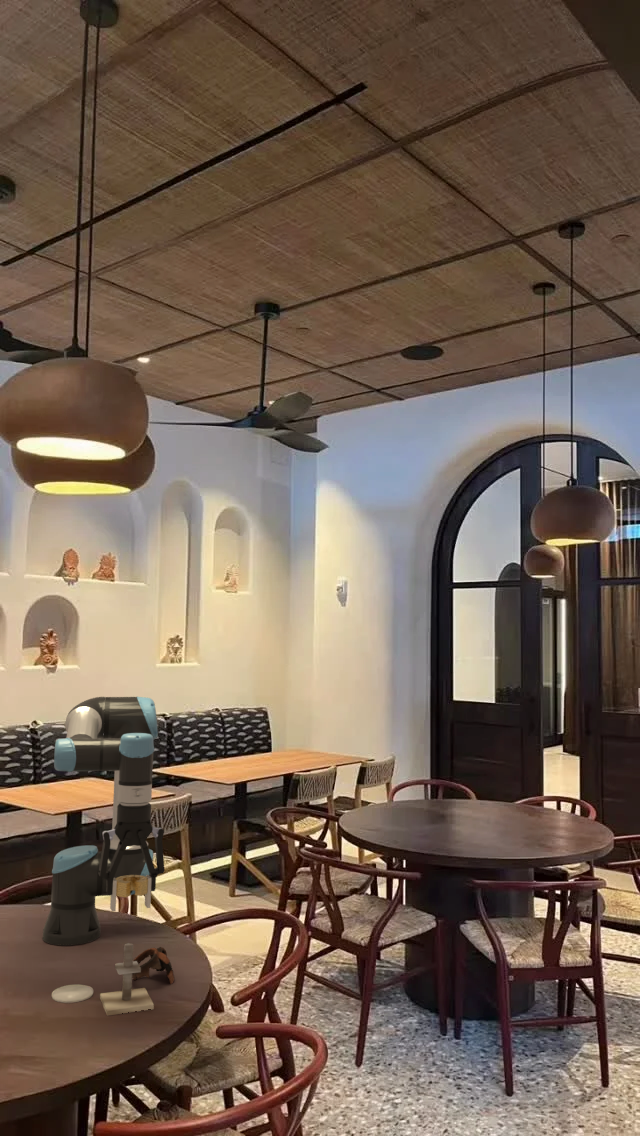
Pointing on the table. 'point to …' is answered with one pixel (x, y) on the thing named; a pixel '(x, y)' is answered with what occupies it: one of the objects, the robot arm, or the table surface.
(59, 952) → the table surface
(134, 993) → the peg stand
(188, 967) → the table surface
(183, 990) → the table surface
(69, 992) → the coaster
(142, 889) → the c link
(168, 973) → the brown black curved arch
